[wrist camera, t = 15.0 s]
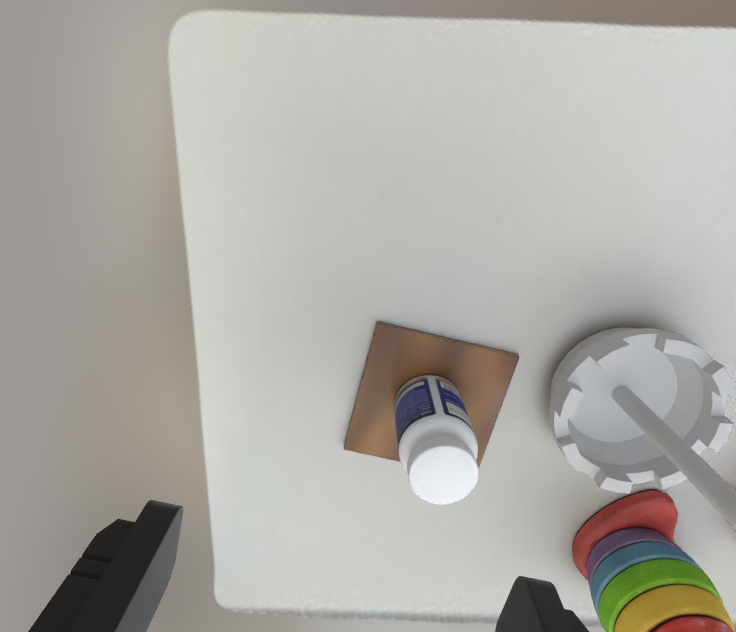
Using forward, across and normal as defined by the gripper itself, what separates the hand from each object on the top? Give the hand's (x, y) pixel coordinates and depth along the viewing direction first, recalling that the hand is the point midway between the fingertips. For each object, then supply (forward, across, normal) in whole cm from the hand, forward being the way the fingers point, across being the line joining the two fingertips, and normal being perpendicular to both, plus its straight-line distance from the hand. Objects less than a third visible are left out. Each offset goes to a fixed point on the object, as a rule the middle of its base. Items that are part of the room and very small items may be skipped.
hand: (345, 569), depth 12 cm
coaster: (+30, -8, +10) cm, 33 cm away
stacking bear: (+30, -30, +20) cm, 47 cm away
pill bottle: (+30, -8, +10) cm, 32 cm away
